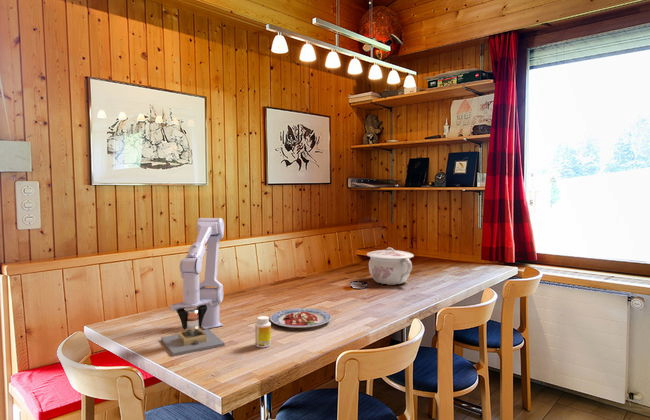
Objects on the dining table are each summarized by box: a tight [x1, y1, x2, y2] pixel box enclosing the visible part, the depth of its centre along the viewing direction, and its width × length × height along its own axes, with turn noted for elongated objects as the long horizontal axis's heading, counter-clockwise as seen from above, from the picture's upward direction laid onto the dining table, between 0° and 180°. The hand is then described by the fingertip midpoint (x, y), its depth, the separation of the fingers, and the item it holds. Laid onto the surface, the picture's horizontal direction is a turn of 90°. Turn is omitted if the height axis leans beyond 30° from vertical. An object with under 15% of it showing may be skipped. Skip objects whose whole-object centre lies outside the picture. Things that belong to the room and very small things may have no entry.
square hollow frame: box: [177, 327, 207, 346], centre depth 164 cm, size 11×8×2 cm
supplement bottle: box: [254, 315, 272, 349], centre depth 161 cm, size 6×6×10 cm
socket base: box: [160, 328, 226, 357], centre depth 164 cm, size 18×18×1 cm
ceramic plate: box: [269, 307, 332, 329], centre depth 189 cm, size 26×26×3 cm
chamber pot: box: [366, 247, 415, 286], centre depth 260 cm, size 28×28×21 cm
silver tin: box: [184, 307, 200, 336], centre depth 163 cm, size 5×5×9 cm
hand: (191, 327), depth 164 cm, fingers closed on silver tin, 5 cm apart
